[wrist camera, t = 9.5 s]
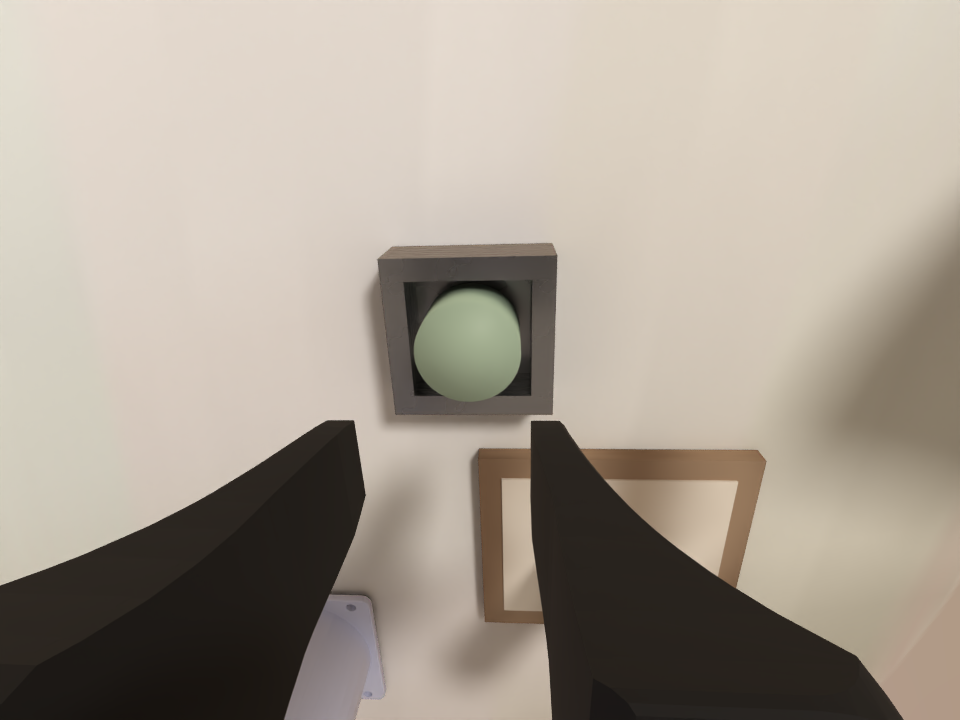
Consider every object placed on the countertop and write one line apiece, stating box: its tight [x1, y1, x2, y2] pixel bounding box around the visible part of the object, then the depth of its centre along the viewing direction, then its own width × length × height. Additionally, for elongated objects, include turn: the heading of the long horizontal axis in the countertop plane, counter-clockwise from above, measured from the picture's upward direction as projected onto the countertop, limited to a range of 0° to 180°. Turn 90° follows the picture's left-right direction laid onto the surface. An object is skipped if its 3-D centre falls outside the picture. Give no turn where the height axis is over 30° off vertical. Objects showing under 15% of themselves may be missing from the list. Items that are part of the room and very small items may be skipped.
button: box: [414, 283, 521, 402], centre depth 17 cm, size 4×4×2 cm
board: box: [478, 449, 766, 624], centre depth 23 cm, size 12×10×1 cm
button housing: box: [378, 243, 557, 415], centre depth 18 cm, size 6×6×2 cm
